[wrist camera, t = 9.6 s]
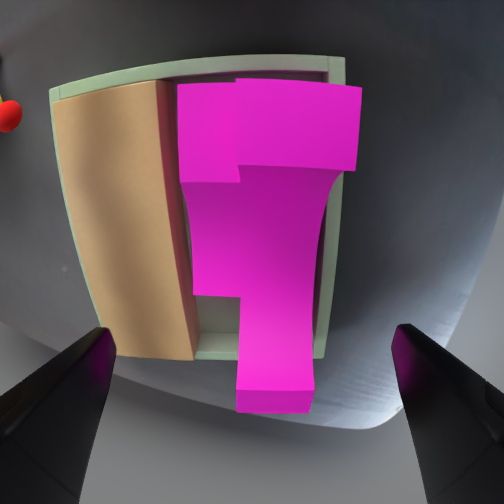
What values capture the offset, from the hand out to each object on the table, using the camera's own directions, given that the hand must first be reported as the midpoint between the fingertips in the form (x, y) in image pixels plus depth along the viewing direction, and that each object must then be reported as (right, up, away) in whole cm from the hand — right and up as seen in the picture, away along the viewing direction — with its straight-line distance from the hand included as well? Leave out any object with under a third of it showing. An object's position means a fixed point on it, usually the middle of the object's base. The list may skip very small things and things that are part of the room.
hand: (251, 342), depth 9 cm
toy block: (0, +5, +9) cm, 10 cm away
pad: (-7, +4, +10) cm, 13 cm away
